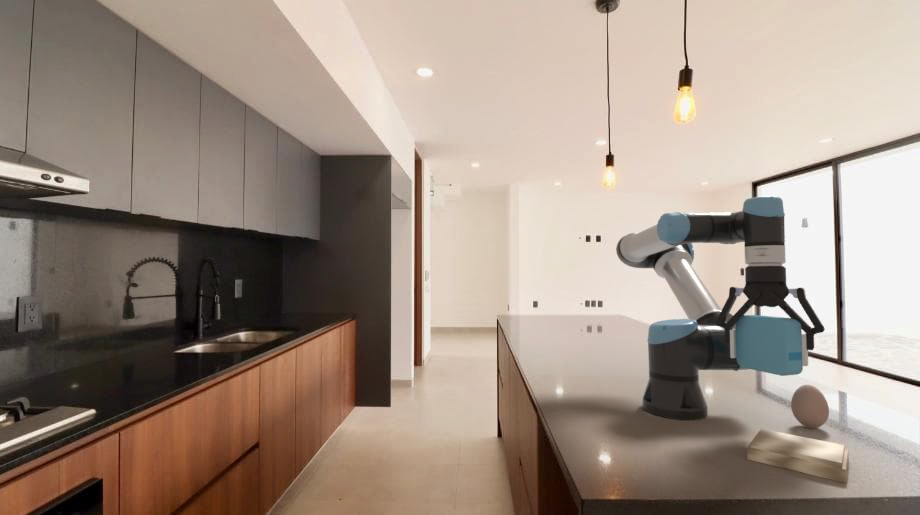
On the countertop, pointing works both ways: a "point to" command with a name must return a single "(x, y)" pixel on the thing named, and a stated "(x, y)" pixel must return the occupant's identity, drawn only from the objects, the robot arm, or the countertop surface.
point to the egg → (809, 406)
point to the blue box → (769, 344)
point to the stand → (800, 454)
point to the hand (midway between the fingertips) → (767, 361)
